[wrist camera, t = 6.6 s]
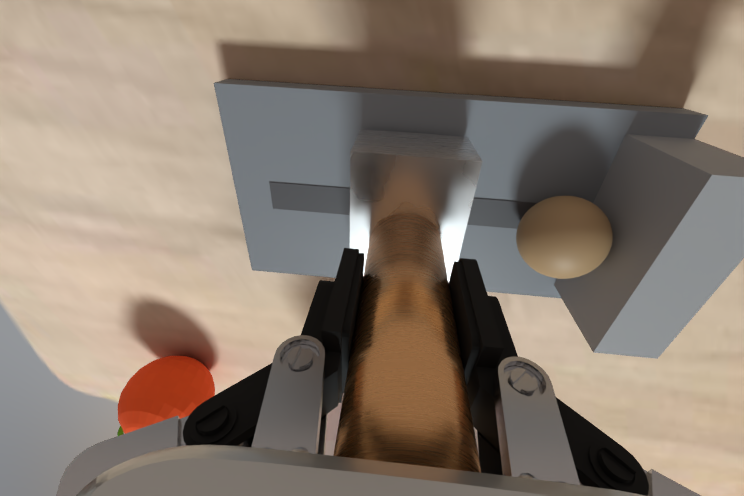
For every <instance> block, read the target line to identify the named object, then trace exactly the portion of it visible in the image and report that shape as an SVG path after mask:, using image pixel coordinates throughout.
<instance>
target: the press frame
mask: <svg viewBox="0 0 744 496" xmlns="http://www.w3.org/2000/svg"><path fill="white" fill-rule="evenodd" d="M214 87H215V92H216V96H217V101H218V106H219V111H220V116H221V121H222V126H223V131H224V135H225V140H226V145H227V150H228V155H229V160H230V165H231V170H232V175H233V179H234V184H235V189H236V194H237V199H238V204H239V209H240V214H241V218H242V223H243V228H244V233H245V238H246V243H247V248H248V253H249V257H250V262H251V267H252V270H256V271H267V272H278V273H289V274H300V275H311V276H322V277H333V278H336V275H337V272H338V268H339V265H340V261H341V257H342V254H343V250H344V248H350V152H351V149H352V147H353V145H354V143H355V140H356V138H357V136H358V134H359V131H360V129H366V130H380V131H394V132H408V133H423V134H437V135H451V136H465V137H468V138H469V139H470V141H471V143H472V144H473V146H474V148H475V149H476V151H477V153H478V155H479V156H480V158H481V160H482V161H483V162H482V166H481V170H480V174H479V178H478V182H477V186H476V190H475V194H474V198H473V202H472V207H471V211H470V215H469V219H468V223H467V227H466V231H465V235H464V239H463V243H462V247H461V251H460V255H459V259H460V258H466V259H476V260H477V263H478V266H479V269H480V272H481V276H482V279H483V282H484V285H485V288H486V291H487V292H498V293H509V294H520V295H531V296H542V297H553V298H562V300H563V301H564V303H565V305H566V306H567V308H568V310H569V312H570V313H571V315H572V317H573V318H574V320H575V322H576V324H577V325H578V327H579V329H580V330H581V332H582V334H583V335H584V337H585V339H586V341H587V342H588V344H589V346H590V347H591V349H592V351H593V352H595V353H606V354H616V355H626V356H636V357H647V358H657V359H658V357H659V356H660V355H661V354H662V353H663V352H664V350H665V349H666V348H667V347H668V346H669V345H670V343H671V342H672V341H673V340H674V339H675V338H676V336H677V335H678V334H679V333H680V332H681V331H682V329H683V328H684V327H685V326H686V325H687V324H688V322H689V321H690V320H691V319H692V318H693V317H694V315H695V314H696V313H697V312H698V311H699V310H700V308H701V307H702V306H703V305H704V304H705V303H706V301H707V300H708V299H709V298H710V297H711V296H712V294H713V293H714V292H715V291H716V290H717V289H718V287H719V286H720V285H721V284H722V283H723V282H724V280H725V279H726V278H727V277H728V276H729V275H730V273H731V272H732V271H733V270H734V269H735V268H736V266H737V265H738V264H739V263H740V262H741V261H742V259H743V258H744V157H741V156H738V155H736V154H733V153H730V152H728V151H725V150H722V149H720V148H717V147H715V146H712V145H709V144H707V143H704V142H701V141H699V140H696V139H695V137H696V135H697V134H698V132H699V130H700V129H701V127H702V125H703V124H704V122H705V120H706V119H707V117H708V115H705V114H701V113H698V112H694V111H691V110H687V109H684V108H668V107H653V106H637V105H622V104H607V103H591V102H576V101H561V100H545V99H530V98H514V97H499V96H484V95H468V94H453V93H437V92H422V91H407V90H391V89H376V88H361V87H345V86H330V85H314V84H299V83H284V82H268V81H253V80H238V79H226V80H223V81H219V82H215V83H214ZM458 262H459V260H458Z"/></svg>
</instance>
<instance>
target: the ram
mask: <svg viewBox="0 0 744 496" xmlns="http://www.w3.org/2000/svg"><path fill="white" fill-rule="evenodd" d="M482 162H483V161H482V160H481V158H480V156H479V155H478V153H477V151H476V149H475V148H474V146H473V144H472V143H471V141H470V139H469V138H468V137H465V136H451V135H437V134H423V133H408V132H394V131H380V130H366V129H360V131H359V134H358V136H357V138H356V140H355V143H354V145H353V147H352V149H351V152H350V248H353V249H359V253H364V274H363V282H362V288H361V294H360V300H359V306H358V312H357V318H356V324H355V330H354V336H353V342H352V348H351V354H350V360H349V365H348V371H347V377H346V383H345V389H344V395H343V401H342V407H341V413H340V419H339V425H338V431H337V437H336V443H335V449H334V454H333V456H339V457H349V458H358V459H367V460H375V461H384V462H393V463H401V464H410V465H419V466H427V467H436V468H445V469H453V470H462V471H470V472H479V473H481V467H480V461H479V455H478V450H477V444H476V438H475V432H474V427H473V421H472V415H471V409H470V404H469V398H468V392H467V386H466V380H465V375H464V369H463V363H462V357H461V352H460V346H459V340H458V334H457V328H456V323H455V317H454V311H453V305H452V300H451V294H450V288H449V279H450V275H451V271H452V267H453V263H454V262H455V261H456V262H458V260H459V255H460V251H461V247H462V243H463V239H464V235H465V231H466V227H467V223H468V219H469V215H470V211H471V207H472V202H473V198H474V194H475V190H476V186H477V182H478V178H479V174H480V170H481V166H482Z"/></svg>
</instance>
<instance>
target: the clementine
mask: <svg viewBox="0 0 744 496" xmlns="http://www.w3.org/2000/svg"><path fill="white" fill-rule="evenodd" d="M214 394H215V387H214V382H213V378H212V375H211V373H210V372H209V370H208V369H207V368H206V367H205V366H204V365H203V364H202V363H201V362H199V361H198V360H196V359H194V358H191V357H187V356H167V357H163V358H160V359H157V360H155V361H153V362H151V363H149V364H147V365H146V366H144V367H142V368H141V369H140V370H139V371H138V372H137V373H136V374H135V375H134V376H133V377H132V378H131V379H130V380H129V381H128V383H127V384H126V386H125V388H124V389H123V391H122V393H121V396H120V399H119V403H118V421H119V423H120V425H121V426H120V428H119V430H118V436H120V435H123V434H124V433H125V434H126V433H129V432H132V431H134V430H137V429H140V428H143V427H146V426H149V425H152V424H155V423H158V422H161V421H163V420H166V419H169V418H172V417H175V416H179V418H180V419H181V418H184V417H186V416H189V415H190V414H191V413H192V412H193V411H194V409H195V408H196V407H197V406H199V405H200V404H202V403H203V402H204V401H206V400H208V399H210V398H211V397H213V396H214ZM123 431H124V433H123Z"/></svg>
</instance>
